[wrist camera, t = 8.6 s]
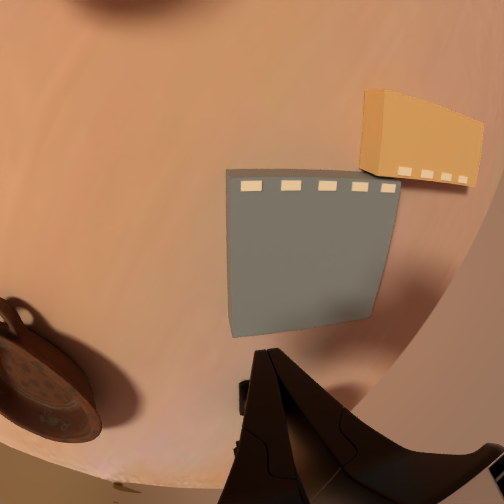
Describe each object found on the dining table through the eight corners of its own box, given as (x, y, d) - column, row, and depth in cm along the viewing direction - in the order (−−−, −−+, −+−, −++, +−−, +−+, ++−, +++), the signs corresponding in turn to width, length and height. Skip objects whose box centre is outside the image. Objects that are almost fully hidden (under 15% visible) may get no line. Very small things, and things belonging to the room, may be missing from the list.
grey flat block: (357, 301, 26) (370, 318, 24) (228, 317, 24) (232, 338, 21) (382, 173, 20) (402, 182, 18) (226, 169, 18) (230, 178, 16)
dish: (86, 297, 21) (69, 338, 16) (122, 429, 30) (119, 460, 26) (-48, 276, 17) (-72, 304, 12) (15, 406, 26) (7, 432, 21)
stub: (457, 179, 22) (476, 187, 20) (359, 168, 20) (378, 176, 18) (464, 119, 19) (484, 124, 17) (364, 89, 17) (385, 89, 15)
